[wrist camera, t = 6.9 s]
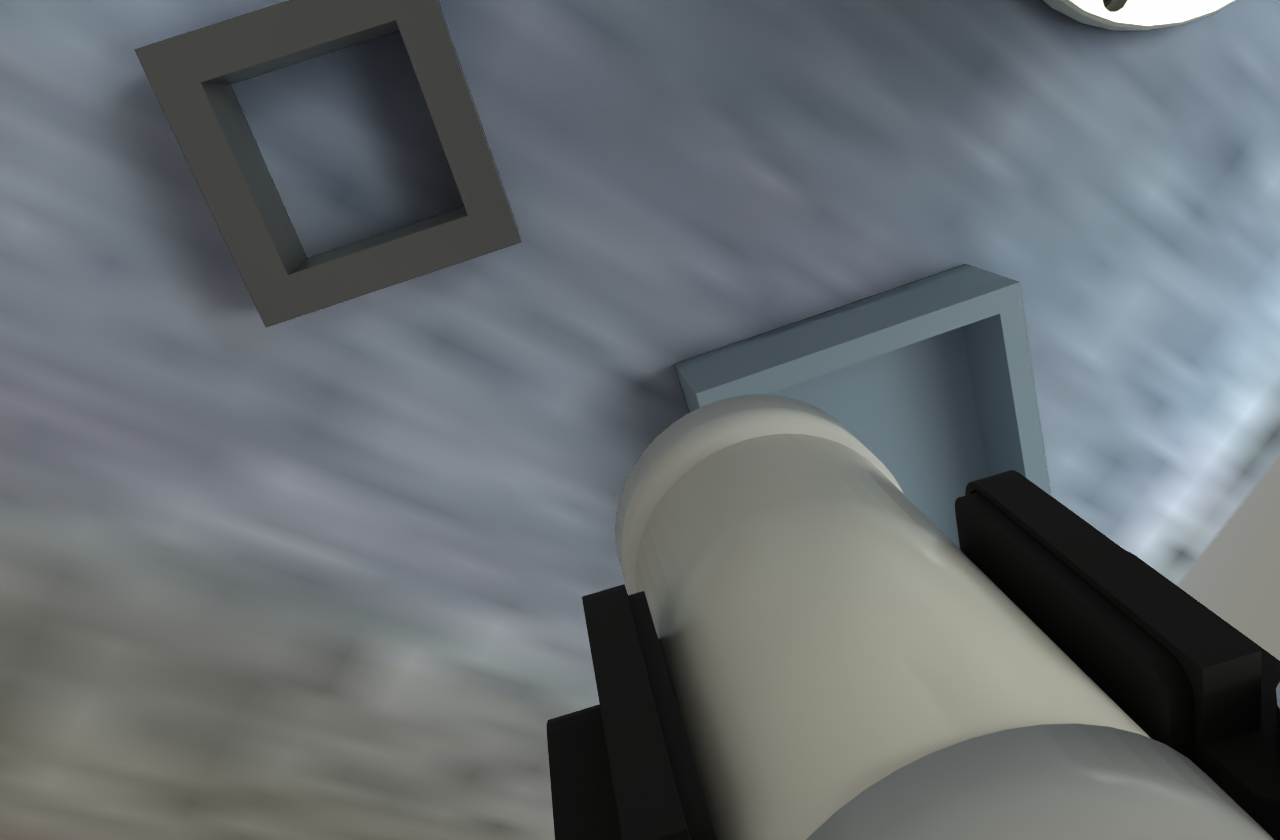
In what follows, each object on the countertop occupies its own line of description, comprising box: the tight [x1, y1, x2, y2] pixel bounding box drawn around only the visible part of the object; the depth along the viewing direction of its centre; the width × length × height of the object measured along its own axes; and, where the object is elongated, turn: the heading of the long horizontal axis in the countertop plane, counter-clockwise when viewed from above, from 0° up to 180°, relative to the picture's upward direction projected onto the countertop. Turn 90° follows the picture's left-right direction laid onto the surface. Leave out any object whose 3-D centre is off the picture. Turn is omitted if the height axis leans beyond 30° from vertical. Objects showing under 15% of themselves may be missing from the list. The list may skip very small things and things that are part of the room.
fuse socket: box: [135, 0, 521, 327], centre depth 27 cm, size 8×8×3 cm
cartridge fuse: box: [615, 394, 1274, 840], centre depth 10 cm, size 4×4×9 cm
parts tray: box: [675, 264, 1051, 549], centre depth 33 cm, size 11×12×4 cm
